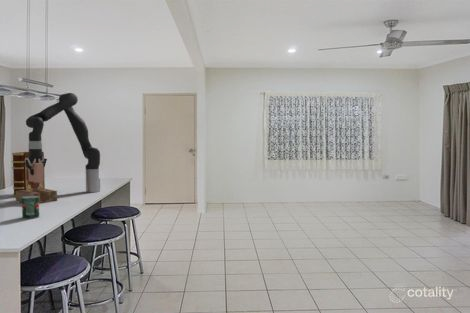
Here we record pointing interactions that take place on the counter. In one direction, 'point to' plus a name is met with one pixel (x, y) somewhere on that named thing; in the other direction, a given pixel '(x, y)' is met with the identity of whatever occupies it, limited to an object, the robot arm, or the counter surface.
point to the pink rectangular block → (37, 173)
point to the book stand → (43, 194)
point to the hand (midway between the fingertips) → (35, 174)
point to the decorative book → (23, 173)
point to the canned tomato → (30, 207)
